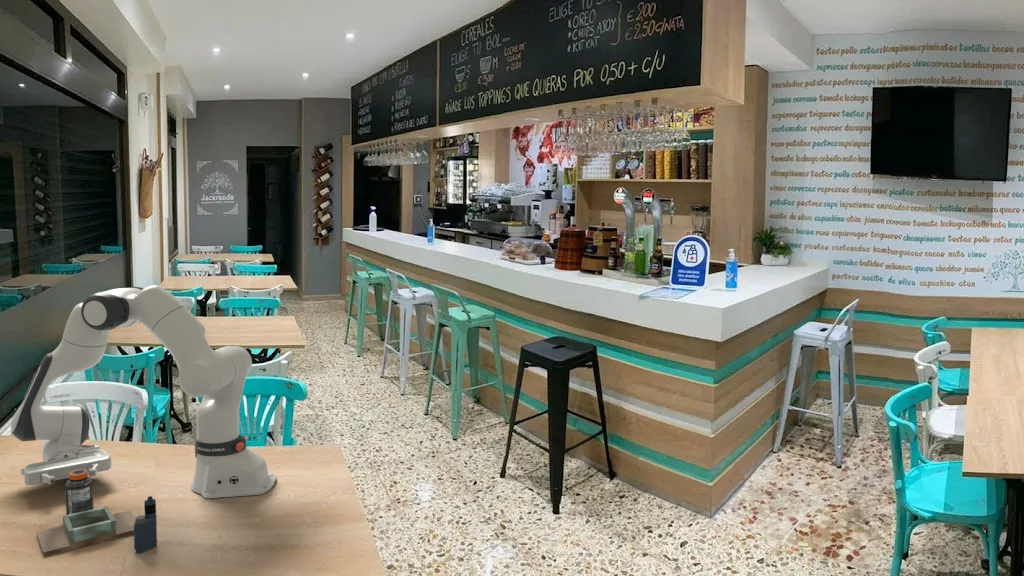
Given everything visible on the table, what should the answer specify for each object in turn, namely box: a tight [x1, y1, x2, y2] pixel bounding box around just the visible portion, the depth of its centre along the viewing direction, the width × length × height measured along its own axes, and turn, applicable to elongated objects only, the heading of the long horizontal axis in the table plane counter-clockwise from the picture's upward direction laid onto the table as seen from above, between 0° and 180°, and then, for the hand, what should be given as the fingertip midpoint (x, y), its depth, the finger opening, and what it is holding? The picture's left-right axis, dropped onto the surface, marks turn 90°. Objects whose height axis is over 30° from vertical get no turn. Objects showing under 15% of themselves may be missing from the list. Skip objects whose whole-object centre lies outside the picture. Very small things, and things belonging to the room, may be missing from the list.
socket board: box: [36, 505, 136, 557], centre depth 168 cm, size 20×12×4 cm, turn 130°
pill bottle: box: [64, 469, 95, 515], centre depth 178 cm, size 6×6×11 cm
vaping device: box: [133, 495, 158, 554], centre depth 162 cm, size 3×5×12 cm, turn 155°
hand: (72, 477), depth 186 cm, fingers open, 8 cm apart
